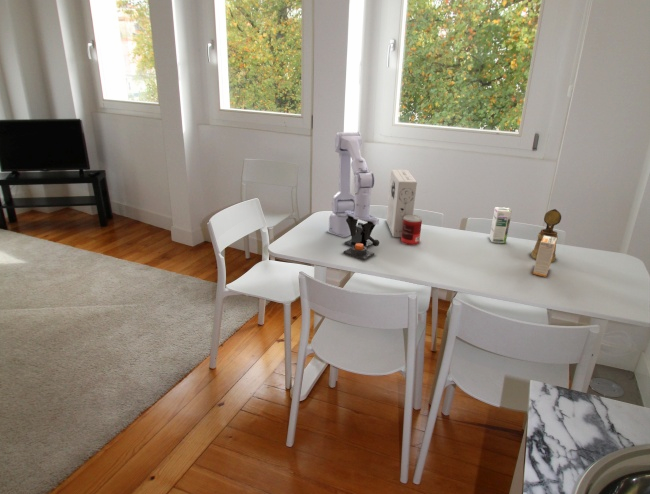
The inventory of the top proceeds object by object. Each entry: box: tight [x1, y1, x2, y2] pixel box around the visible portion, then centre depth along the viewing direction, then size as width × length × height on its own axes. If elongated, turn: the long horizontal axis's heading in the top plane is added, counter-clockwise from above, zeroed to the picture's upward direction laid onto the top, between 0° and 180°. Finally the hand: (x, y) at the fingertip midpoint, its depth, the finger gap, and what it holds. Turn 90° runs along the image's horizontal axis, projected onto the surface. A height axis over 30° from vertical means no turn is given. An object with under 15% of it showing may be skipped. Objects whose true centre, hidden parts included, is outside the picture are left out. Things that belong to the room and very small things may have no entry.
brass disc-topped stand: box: [530, 208, 562, 263], centre depth 186 cm, size 9×14×18 cm, turn 150°
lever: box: [356, 224, 380, 247], centre depth 191 cm, size 12×3×3 cm, turn 50°
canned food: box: [400, 214, 423, 246], centre depth 197 cm, size 8×8×11 cm
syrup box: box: [489, 206, 512, 244], centre depth 200 cm, size 6×6×14 cm
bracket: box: [344, 221, 373, 249], centre depth 193 cm, size 9×8×9 cm
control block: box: [343, 245, 375, 261], centre depth 185 cm, size 10×7×3 cm
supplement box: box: [532, 236, 558, 278], centre depth 172 cm, size 8×5×13 cm, turn 148°
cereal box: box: [385, 168, 418, 238], centre depth 208 cm, size 22×8×25 cm, turn 179°
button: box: [355, 243, 363, 250], centre depth 184 cm, size 3×3×2 cm
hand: (359, 237), depth 183 cm, fingers open, 6 cm apart
